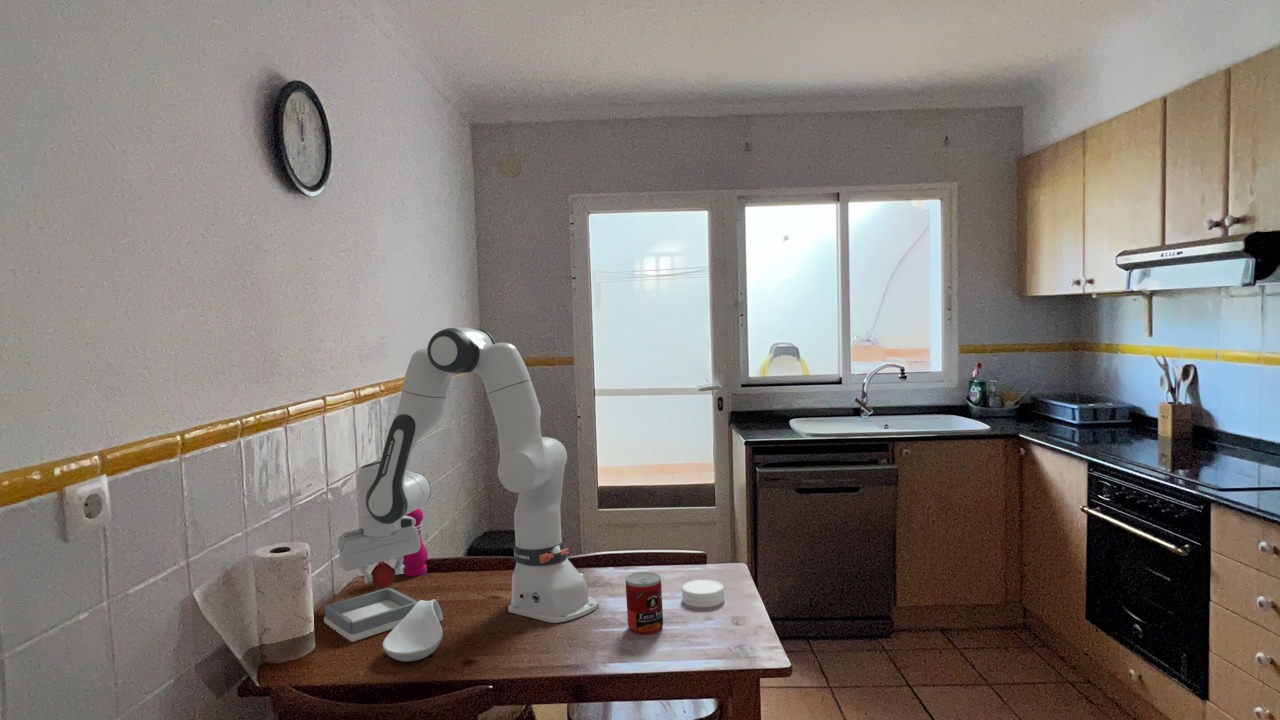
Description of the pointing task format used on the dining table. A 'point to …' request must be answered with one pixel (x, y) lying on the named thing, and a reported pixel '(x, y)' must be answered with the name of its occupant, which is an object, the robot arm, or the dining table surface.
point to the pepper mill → (416, 560)
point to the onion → (382, 575)
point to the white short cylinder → (703, 593)
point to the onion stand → (368, 613)
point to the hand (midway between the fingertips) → (382, 578)
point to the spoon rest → (416, 633)
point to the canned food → (644, 603)
